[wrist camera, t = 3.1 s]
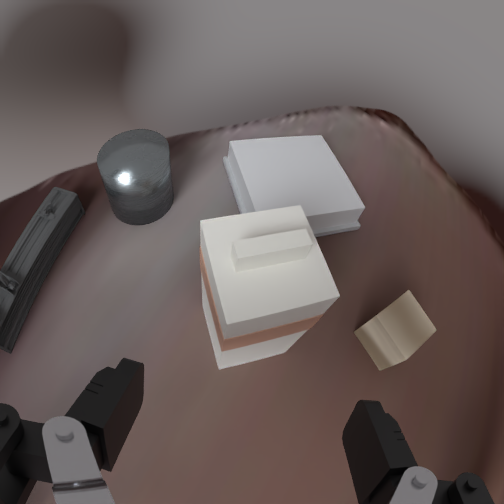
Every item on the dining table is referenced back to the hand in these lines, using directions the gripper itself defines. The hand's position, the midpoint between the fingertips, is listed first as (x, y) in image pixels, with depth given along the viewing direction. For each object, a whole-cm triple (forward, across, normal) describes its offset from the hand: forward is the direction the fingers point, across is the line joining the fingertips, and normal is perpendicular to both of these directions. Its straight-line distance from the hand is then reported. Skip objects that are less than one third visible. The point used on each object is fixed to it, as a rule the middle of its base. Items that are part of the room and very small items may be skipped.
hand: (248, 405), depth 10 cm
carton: (+12, 0, +3) cm, 13 cm away
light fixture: (+13, +19, +4) cm, 23 cm away
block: (+13, -11, +3) cm, 18 cm away
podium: (+22, -2, -7) cm, 23 cm away
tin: (+19, +12, -4) cm, 23 cm away
